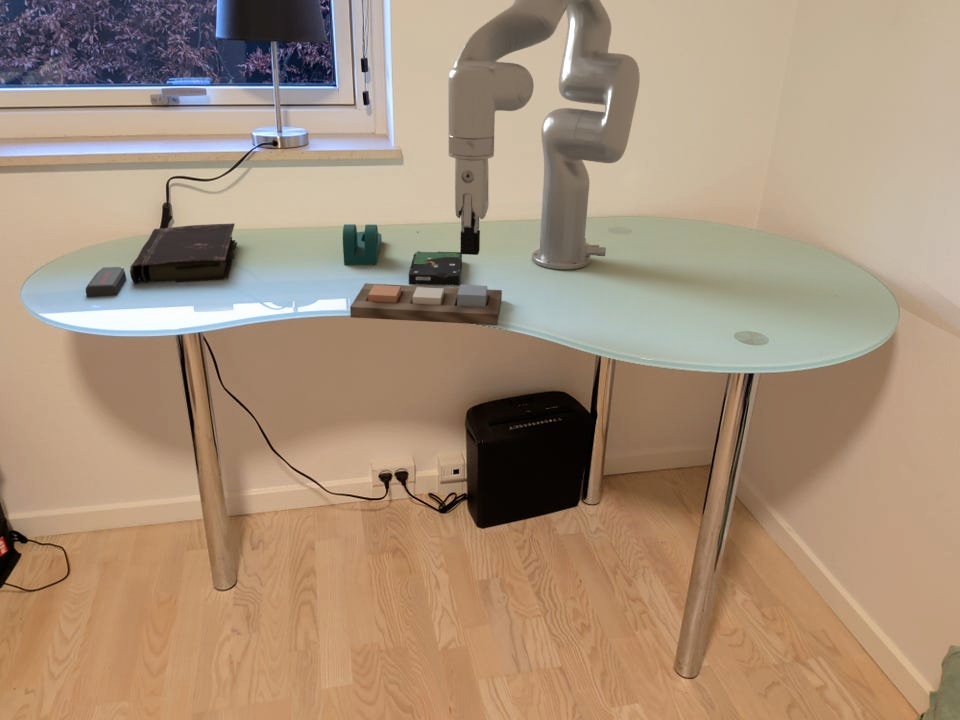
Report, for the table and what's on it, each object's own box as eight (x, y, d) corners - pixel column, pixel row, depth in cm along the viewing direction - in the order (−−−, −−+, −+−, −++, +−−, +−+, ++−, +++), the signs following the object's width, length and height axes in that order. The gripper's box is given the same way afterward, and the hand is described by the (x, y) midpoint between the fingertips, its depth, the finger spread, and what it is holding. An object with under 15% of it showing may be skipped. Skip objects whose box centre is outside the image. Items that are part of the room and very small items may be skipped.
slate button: (487, 301, 138) (487, 285, 137) (484, 311, 133) (485, 295, 132) (460, 299, 138) (460, 284, 137) (457, 310, 134) (457, 294, 132)
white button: (443, 303, 139) (443, 288, 138) (440, 313, 134) (440, 298, 133) (417, 302, 139) (416, 287, 138) (412, 312, 135) (412, 296, 133)
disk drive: (460, 288, 148) (461, 263, 162) (461, 275, 147) (462, 250, 160) (408, 287, 148) (413, 262, 161) (408, 274, 147) (413, 249, 160)
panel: (501, 300, 141) (501, 290, 140) (497, 325, 131) (497, 314, 130) (365, 293, 143) (365, 283, 142) (350, 317, 132) (350, 306, 131)
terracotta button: (401, 301, 139) (400, 286, 138) (396, 311, 135) (395, 296, 134) (374, 300, 140) (374, 284, 138) (368, 310, 135) (368, 294, 134)
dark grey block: (87, 299, 138) (84, 285, 137) (102, 277, 149) (99, 264, 148) (117, 297, 139) (114, 284, 138) (130, 276, 150) (127, 263, 149)
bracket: (376, 266, 158) (374, 229, 154) (344, 266, 158) (341, 229, 154) (382, 240, 174) (381, 207, 171) (353, 240, 174) (351, 207, 170)
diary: (132, 288, 145) (126, 263, 143) (154, 249, 167) (150, 227, 165) (232, 281, 148) (228, 257, 146) (241, 244, 170) (238, 222, 168)
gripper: (490, 156, 117) (487, 268, 125) (497, 139, 130) (494, 241, 138) (442, 154, 117) (442, 266, 125) (454, 137, 131) (454, 239, 139)
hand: (470, 252), depth 132 cm, fingers closed
